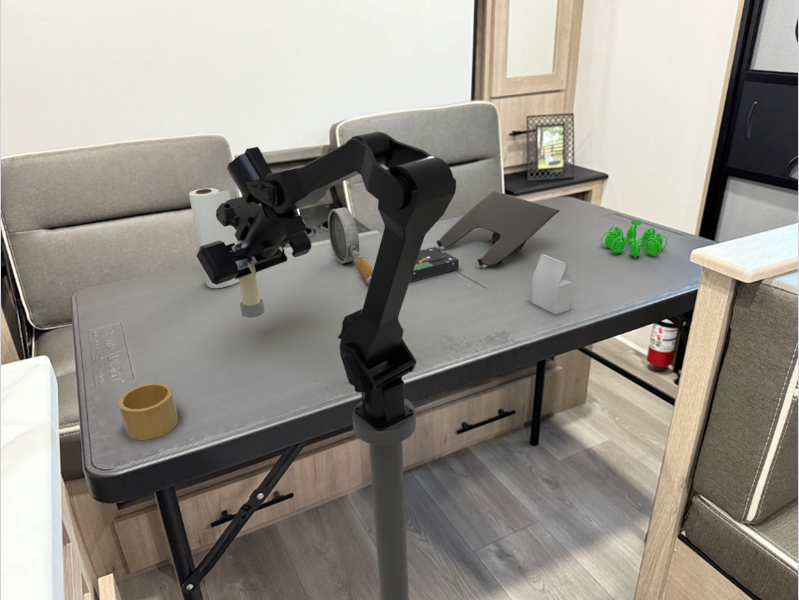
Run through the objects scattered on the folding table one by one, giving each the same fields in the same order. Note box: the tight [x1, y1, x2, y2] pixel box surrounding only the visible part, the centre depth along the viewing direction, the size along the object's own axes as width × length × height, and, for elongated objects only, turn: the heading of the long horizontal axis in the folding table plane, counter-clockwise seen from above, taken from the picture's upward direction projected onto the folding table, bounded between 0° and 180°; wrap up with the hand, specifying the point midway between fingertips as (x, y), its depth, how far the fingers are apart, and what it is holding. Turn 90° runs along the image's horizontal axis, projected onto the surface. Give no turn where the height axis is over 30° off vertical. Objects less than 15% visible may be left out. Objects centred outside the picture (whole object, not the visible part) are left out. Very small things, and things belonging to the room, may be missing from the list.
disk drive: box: [409, 246, 460, 283], centre depth 139 cm, size 10×3×15 cm
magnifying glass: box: [327, 207, 374, 286], centre depth 139 cm, size 13×3×25 cm
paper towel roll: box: [188, 187, 239, 289], centre depth 131 cm, size 7×6×21 cm
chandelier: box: [600, 220, 668, 259], centre depth 144 cm, size 15×15×7 cm
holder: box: [117, 382, 179, 441], centre depth 88 cm, size 7×7×5 cm
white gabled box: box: [531, 253, 573, 315], centre depth 118 cm, size 4×7×10 cm, turn 31°
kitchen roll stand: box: [238, 240, 265, 319], centre depth 104 cm, size 4×4×14 cm
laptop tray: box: [436, 190, 560, 269], centre depth 148 cm, size 23×23×9 cm
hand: (243, 274), depth 105 cm, fingers closed on kitchen roll stand, 3 cm apart
